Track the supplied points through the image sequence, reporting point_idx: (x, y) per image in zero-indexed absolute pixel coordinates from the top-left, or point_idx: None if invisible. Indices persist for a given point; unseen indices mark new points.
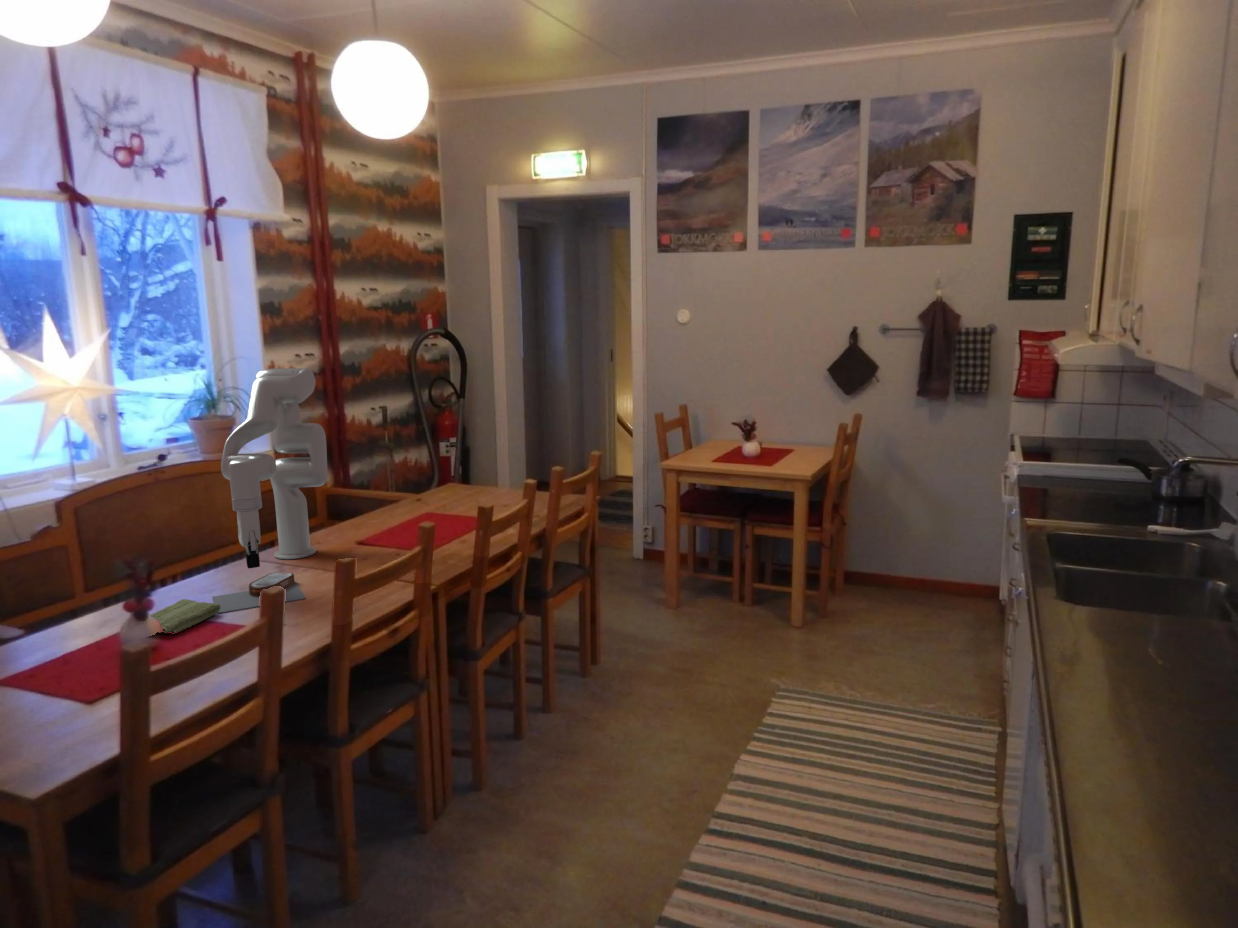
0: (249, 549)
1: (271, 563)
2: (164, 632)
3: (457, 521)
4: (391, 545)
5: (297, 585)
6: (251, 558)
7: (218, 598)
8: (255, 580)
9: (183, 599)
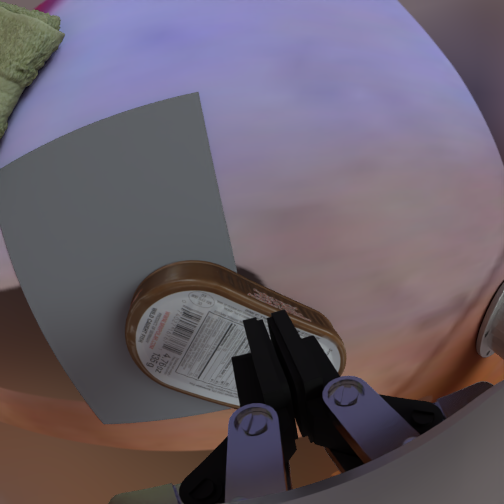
0: (191, 486)
1: (487, 275)
2: None
3: None
4: None
5: None
6: (239, 399)
7: (155, 126)
8: (249, 303)
9: (29, 25)
